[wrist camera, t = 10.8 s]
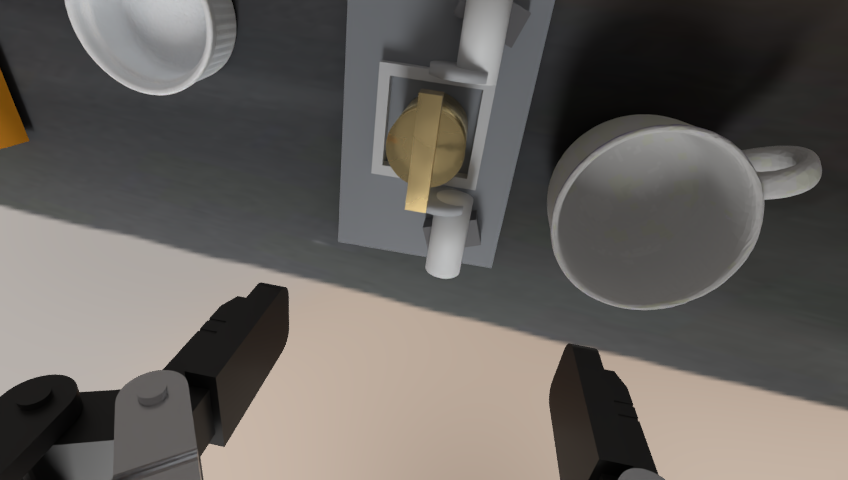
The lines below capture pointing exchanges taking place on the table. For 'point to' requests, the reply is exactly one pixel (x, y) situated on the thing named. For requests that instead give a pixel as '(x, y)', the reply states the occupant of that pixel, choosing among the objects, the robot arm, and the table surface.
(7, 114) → the bracket
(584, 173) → the teacup
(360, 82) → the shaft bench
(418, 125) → the gold knob
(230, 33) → the ramekin
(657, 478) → the robot arm
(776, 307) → the table surface
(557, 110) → the table surface
